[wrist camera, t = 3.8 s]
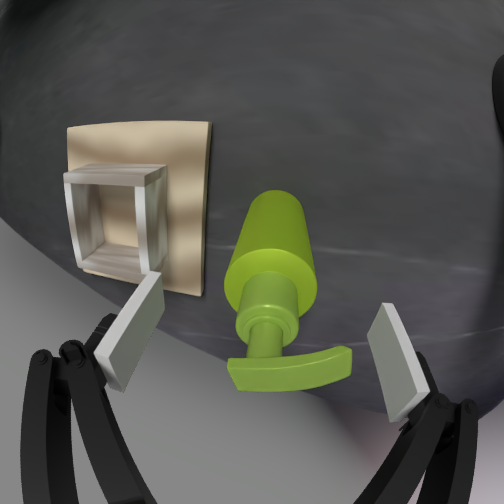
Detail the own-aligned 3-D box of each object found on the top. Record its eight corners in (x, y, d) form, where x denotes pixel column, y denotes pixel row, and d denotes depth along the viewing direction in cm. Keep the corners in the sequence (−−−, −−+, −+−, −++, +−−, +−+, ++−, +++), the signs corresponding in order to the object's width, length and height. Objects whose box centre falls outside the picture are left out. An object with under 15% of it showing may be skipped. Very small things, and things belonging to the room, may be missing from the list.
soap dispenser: (317, 236, 29) (350, 404, 11) (254, 245, 30) (219, 412, 13) (308, 183, 26) (355, 323, 9) (242, 195, 28) (174, 340, 10)
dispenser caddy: (75, 126, 25) (38, 134, 19) (212, 122, 24) (191, 123, 19) (89, 266, 35) (64, 290, 29) (203, 289, 34) (189, 323, 28)
